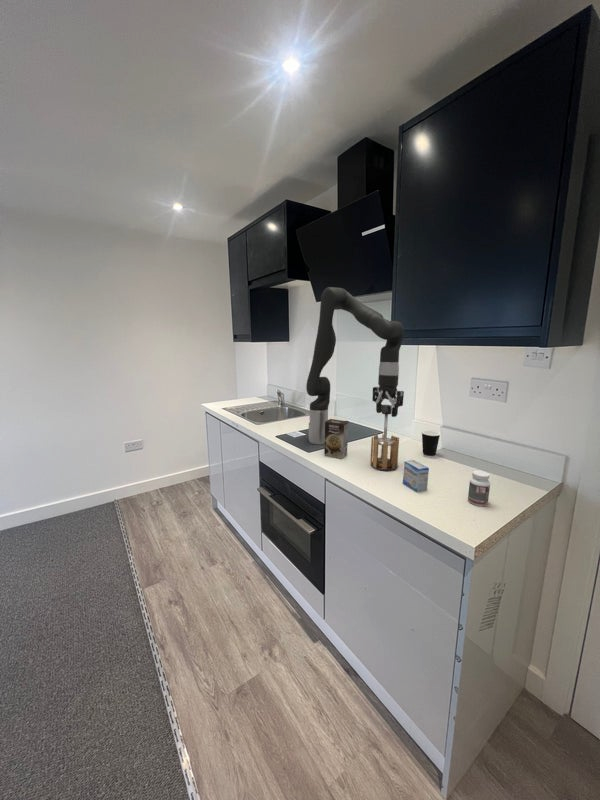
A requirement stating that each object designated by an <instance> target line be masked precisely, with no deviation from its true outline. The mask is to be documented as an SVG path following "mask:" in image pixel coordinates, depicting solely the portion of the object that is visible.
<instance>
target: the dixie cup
mask: <svg viewBox="0 0 600 800" xmlns="http://www.w3.org/2000/svg"><path fill="white" fill-rule="evenodd" d="M441 435H442V434H441V432H439V431H436V430H432V429H431V430H430V429H425V430H422V431H421V436H422V437H421V438H422V439H421V441H422V444H421V445H422V455H423V457H424V458H427V459H428V458H429V459H434V458H435V457H436V454H437V450H438V446H439V440H440V436H441Z"/></svg>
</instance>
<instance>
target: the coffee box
mask: <svg viewBox="0 0 600 800" xmlns="http://www.w3.org/2000/svg"><path fill="white" fill-rule="evenodd" d="M348 442H349V420H340V419H334V418H328V420H327V421H325V444H323V446H324V449H323V450H324V451H323V453H324V455H323V457H328V458H334V459H338V460H344V459H345V458H346V457H347V456H348V445H349V444H348Z"/></svg>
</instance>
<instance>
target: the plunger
mask: <svg viewBox="0 0 600 800" xmlns="http://www.w3.org/2000/svg"><path fill="white" fill-rule="evenodd" d="M381 414H382V415H384V425H383V434H384V438H382V437H378V438H376V439H375V440H378V441H379V445H378V446H382V445H383V442H388V447H391V446H392V443H393V442H394V441H395V440H393V439H391V437H387V436H388V421H389V420H388V419H389V415H392V404H382V412H381Z"/></svg>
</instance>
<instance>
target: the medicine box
mask: <svg viewBox="0 0 600 800" xmlns="http://www.w3.org/2000/svg"><path fill="white" fill-rule="evenodd" d="M429 471H430V468H429V467H428V466H426V465H424V464H422V463H420V462H418V461H416V460H415V459H409V460H408V459H407V460H405V461H404V462H403V475H402V484H403V485H405V486H406V487H408V488H410V489H411V490H413V491H414V492H416V493H421V492H422V493H423V492H426V491H428V484H429Z"/></svg>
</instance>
